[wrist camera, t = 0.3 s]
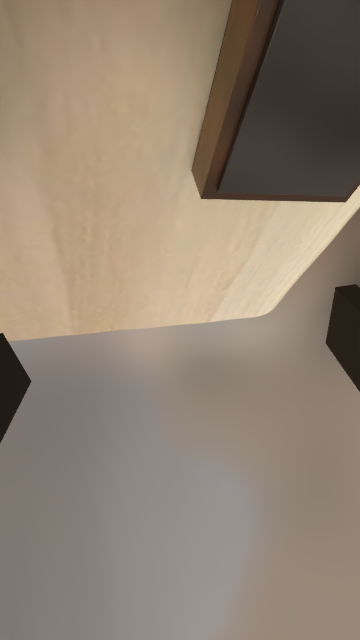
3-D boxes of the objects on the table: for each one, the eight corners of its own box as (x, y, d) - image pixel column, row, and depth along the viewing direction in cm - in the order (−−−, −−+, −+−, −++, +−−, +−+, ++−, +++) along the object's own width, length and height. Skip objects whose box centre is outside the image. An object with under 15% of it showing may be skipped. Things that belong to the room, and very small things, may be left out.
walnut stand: (260, -116, 13) (293, -94, 12) (480, -43, 17) (531, -18, 15) (191, 171, 25) (202, 203, 23) (329, 177, 29) (348, 206, 27)
